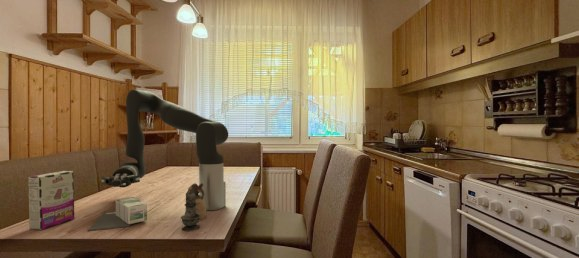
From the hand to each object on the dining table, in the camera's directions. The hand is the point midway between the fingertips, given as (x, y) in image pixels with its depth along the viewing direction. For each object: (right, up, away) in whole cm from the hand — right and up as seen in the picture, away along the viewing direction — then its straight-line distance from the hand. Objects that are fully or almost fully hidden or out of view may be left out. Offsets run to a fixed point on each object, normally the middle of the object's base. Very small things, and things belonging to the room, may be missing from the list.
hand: (115, 183), depth 98 cm
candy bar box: (-18, -12, -5) cm, 22 cm away
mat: (0, -12, 0) cm, 12 cm away
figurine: (+27, -12, +1) cm, 29 cm away
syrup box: (0, -9, +5) cm, 10 cm away
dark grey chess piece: (+28, -12, -9) cm, 32 cm away
